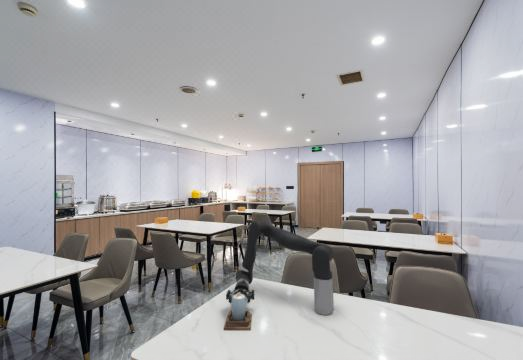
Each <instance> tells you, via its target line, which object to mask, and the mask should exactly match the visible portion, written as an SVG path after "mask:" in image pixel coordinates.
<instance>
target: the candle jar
mask: <svg viewBox="0 0 523 360" xmlns="http://www.w3.org/2000/svg"><path fill="white" fill-rule="evenodd" d="M246 301H247V299H246V296H245V295H243V294H241V292H239V293H237V294H235V295H233V296H232V302H231V311H232V321H246V311H247V310H246V309H247V308H246V303H247V302H246Z"/></svg>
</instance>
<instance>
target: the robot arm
mask: <svg viewBox="0 0 523 360" xmlns="http://www.w3.org/2000/svg"><path fill="white" fill-rule="evenodd" d="M259 237H266V238H270V239H272V240H273V241H274V242H276V243H277V244H278V245H279V246H281V247H283V248H284V249H288V250H290V251H295V252H301V253H306V254H310V255H311V265H312V266H311V267H312V272H313V294H314V295H313V298H314V299H313V300H314V301H313V302H314V304H313V307H314V312H315V313H317V314H319V315H321V316H330V315H332V314H333V313H334V310H335V309H334V308H335V306H334V290H333V272H332V270H331V267H330V265H331V263H330V262H331V261H333V259H334V257H335V253H334V252H335V251H334V250H333V248H332V247H331V246H329V245H328V244H324V243H321V242H317V241H314V240H311V239H308V238H305V237H303V236H301V235H298V234H296V233H293V232H292V231H288V230H285V229H283V228H280V227H275V226H274V225H271V224H270V223H267V222H266V221H264V220H253V221H251V223H250V224H249V227H248V235H247V242H246V248H245V253H244V257H243V260H242V264H241V265H242V267H243V270H242V269H240V270H237V272H236V274H235V281H236V283H235V287H234V290H233V291H231V289H228V290H227V292H226V294H225V300H226V301H227V300H228V302H229V304H232V296H233V295H235V294H237V293H239V292H241V294H243V295H245V296H246V301H247V302H246V303H247V304H250V303H251V300H255V290H254V289H252V290H251V291H249V290H250V285H251V284H252V282H253V279H254V275H253V273H254V266H255V262H256V258H257V247H256V246H257V241H258V238H259ZM244 269H245V270H244ZM246 270H247V271H246Z"/></svg>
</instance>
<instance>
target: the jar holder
mask: <svg viewBox="0 0 523 360" xmlns="http://www.w3.org/2000/svg"><path fill="white" fill-rule="evenodd" d="M252 319H253V314H251V312H250V311H249V310H246V321H232V310H230V311H229V312H228V313H227V316H226V319H225V323H224V326H223V331H251V330H252V322H253V321H252Z"/></svg>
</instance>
